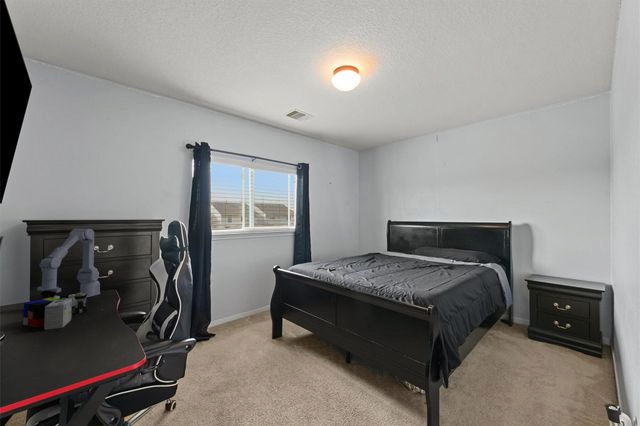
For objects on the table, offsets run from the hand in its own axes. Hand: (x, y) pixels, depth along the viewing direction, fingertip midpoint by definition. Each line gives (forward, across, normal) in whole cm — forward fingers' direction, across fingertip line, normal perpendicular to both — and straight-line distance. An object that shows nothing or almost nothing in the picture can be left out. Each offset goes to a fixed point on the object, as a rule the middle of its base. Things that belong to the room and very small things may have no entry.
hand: (48, 304), depth 149 cm
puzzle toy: (+3, +20, -14) cm, 25 cm away
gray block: (+1, -4, +5) cm, 6 cm away
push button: (+3, +22, 0) cm, 22 cm away
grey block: (+1, +3, +10) cm, 11 cm away
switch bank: (+2, -1, +5) cm, 6 cm away
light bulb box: (+3, +31, -16) cm, 35 cm away
